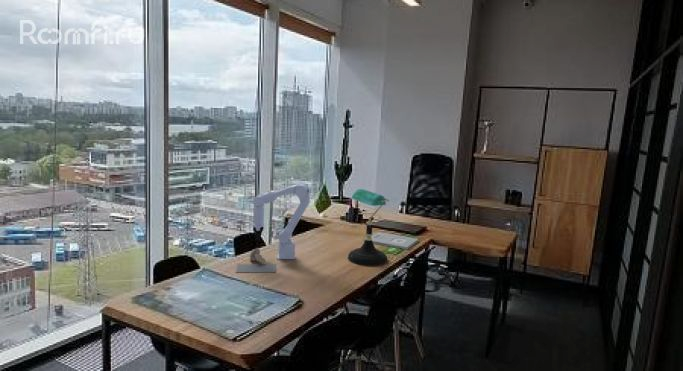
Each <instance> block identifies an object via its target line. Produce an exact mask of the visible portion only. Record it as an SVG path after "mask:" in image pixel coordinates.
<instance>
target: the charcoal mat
mask: <svg viewBox="0 0 683 371" xmlns="http://www.w3.org/2000/svg"><path fill="white" fill-rule="evenodd" d="M235 273H236V274H237V273H242V274H243V273H246V274H247V273H249V274H250V273H251V274H252V273H253V274H255V273H258V274H259V273H260V274H261V273H266V274H267V273H270V274H271V273H277V264H275V263H273V264H270V263H267V264H266V263H265V264H264V265H262V263H260V264H259V263H255V264H254V263H252V264H251V263H250V264H249V263H248V264H246V263H245V264H244V263H241V264H239V263H238V264H237V267H236V271H235Z"/></svg>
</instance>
